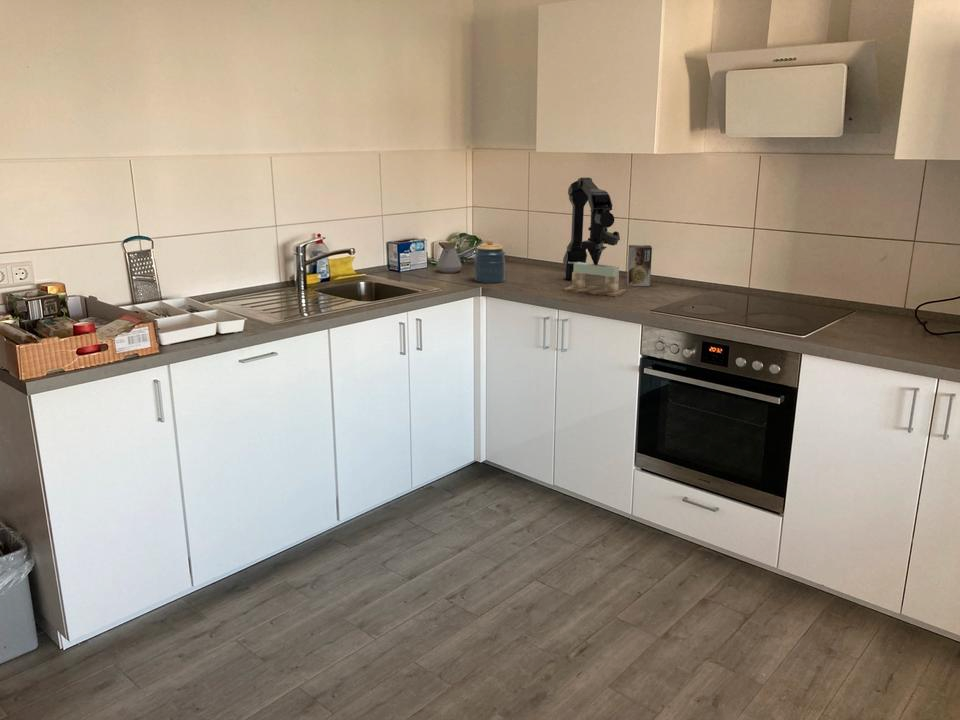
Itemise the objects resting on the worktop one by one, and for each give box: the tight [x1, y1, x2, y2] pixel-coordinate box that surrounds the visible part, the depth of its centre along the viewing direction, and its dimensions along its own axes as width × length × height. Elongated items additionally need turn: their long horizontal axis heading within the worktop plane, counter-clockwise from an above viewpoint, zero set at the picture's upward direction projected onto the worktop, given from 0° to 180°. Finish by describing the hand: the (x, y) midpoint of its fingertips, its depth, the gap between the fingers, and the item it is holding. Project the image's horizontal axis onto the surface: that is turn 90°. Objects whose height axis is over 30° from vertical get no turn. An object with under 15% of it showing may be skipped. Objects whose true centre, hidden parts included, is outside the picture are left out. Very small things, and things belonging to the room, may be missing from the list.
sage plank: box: [573, 262, 620, 277], centre depth 301 cm, size 18×4×4 cm, turn 52°
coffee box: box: [626, 244, 653, 287], centre depth 315 cm, size 9×6×16 cm
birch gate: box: [563, 272, 627, 297], centre depth 302 cm, size 22×11×7 cm, turn 60°
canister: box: [474, 238, 506, 284], centre depth 322 cm, size 13×13×18 cm
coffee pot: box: [436, 242, 463, 274], centre depth 339 cm, size 21×12×15 cm, turn 166°
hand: (595, 265), depth 300 cm, fingers closed, pressing on sage plank
